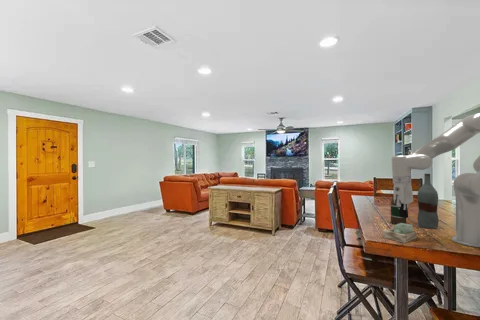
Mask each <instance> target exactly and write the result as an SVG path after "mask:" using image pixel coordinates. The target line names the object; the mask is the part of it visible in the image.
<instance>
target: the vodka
mask: <svg viewBox="0 0 480 320" xmlns="http://www.w3.org/2000/svg"><path fill="white" fill-rule="evenodd" d="M423 175H424V178H423V179H424V181H423V182H424V183H423V184H422V186H421V187H420V188H419V189H418V190H417V195H416V196H417V197H416V198H417V206H418V212H417V225H418V226H419V227H421V228H424V229H430V230H431V229H433V230H434V229H435V230H436V229H437V228H438V226H439V221H440V220H439V214H438V205H439V193H438V190H436V188H435V187H434V186H433V184H432V183H431V173H424V174H423Z"/></svg>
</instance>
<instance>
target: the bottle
mask: <svg viewBox="0 0 480 320" xmlns="http://www.w3.org/2000/svg"><path fill="white" fill-rule="evenodd" d="M413 225H414V224H408V223H406V224H405V223H400V224H396V225H395V224H393V228H394V231H393V232H396V233H400V234H407V233H409V232H412V231H414V226H413Z"/></svg>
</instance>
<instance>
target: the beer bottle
mask: <svg viewBox="0 0 480 320" xmlns="http://www.w3.org/2000/svg"><path fill="white" fill-rule="evenodd" d="M390 223H391V224H392V225H396V224H400V223H405V224H407V218H402V217H399V208H398V206H397V203H395V202H394V196H393V197H392V198H391V200H390Z"/></svg>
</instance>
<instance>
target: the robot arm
mask: <svg viewBox="0 0 480 320" xmlns="http://www.w3.org/2000/svg"><path fill="white" fill-rule="evenodd" d="M478 134H480V112H477V113H474V114H469V115H468V116H465V117H463V118H461V119H460V120H459V121H458V122H456V123H455V124H454V125H452V126H451V127H449V128H448V129H447V130H445V131H444V132H442V133H441V134H440V135H438V136H436V137H435V138H433V139H432V140H430V141H429V142H427V143H426V144H424V145H422V146H421V147H420V148H418V149H417V150H415V151H414V152H412V153H411V154H409V155H403V154H400V155H393V156H392V157H391V171H392V172H391V173H392V174H391V175H392V184H393V193H392V194H393V197H394V202H395V203H397V206H398V208H399V217H402V218H406V219H408V218H409V205H410V204H412V203H413V202H414V192H413V187H412V171H411V170H417V171H418V170H419V171H425V170H427V169H429V168H430V167H431V166H432V165H433V159H434V158H436V157H438V156H441V155H443V154H445V153H450V152H451V151H454V150H455V149H457V148H458V147H460V146H461V145H463V144H464V143H466V142H467V141H468V140H471V139H472V138H473V137H475V136H476V135H478ZM472 166H473V167H472V168H473V170H474V171H475V172H476V173H471V172H467V173H466V172H465V173H461V174H459V175H457V176H456V177H455V179H454V180H453V183H452V184H453V190H454V195H455V197H454V198H455V235H453V236H451V241H453V242H455V243H457V244H460V245H463V246H468V247H473V248H480V155H479V156H478V157H476V159H475V160H474V162H473V165H472Z"/></svg>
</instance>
